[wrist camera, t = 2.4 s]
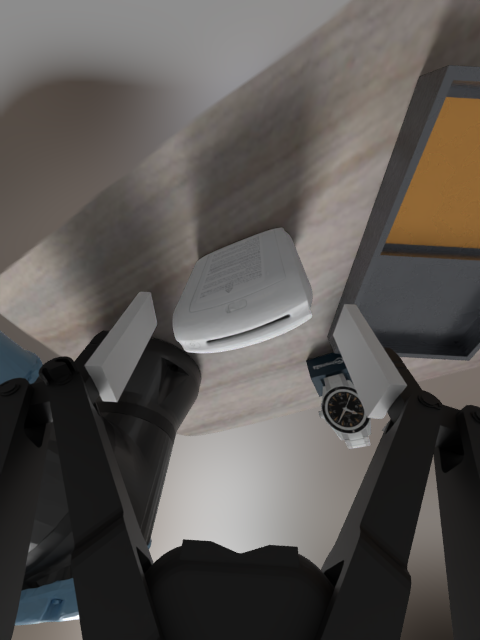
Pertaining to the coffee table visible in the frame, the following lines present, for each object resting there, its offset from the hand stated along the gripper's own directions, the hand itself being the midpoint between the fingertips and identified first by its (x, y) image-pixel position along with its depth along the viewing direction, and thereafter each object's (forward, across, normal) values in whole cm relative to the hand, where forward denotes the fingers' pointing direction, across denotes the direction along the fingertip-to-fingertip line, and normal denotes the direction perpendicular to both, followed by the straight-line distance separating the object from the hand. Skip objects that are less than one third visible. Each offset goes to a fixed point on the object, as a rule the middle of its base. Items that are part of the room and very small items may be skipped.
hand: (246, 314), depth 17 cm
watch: (+10, -13, +15) cm, 22 cm away
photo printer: (+10, 0, 0) cm, 10 cm away
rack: (+10, -19, -2) cm, 22 cm away
